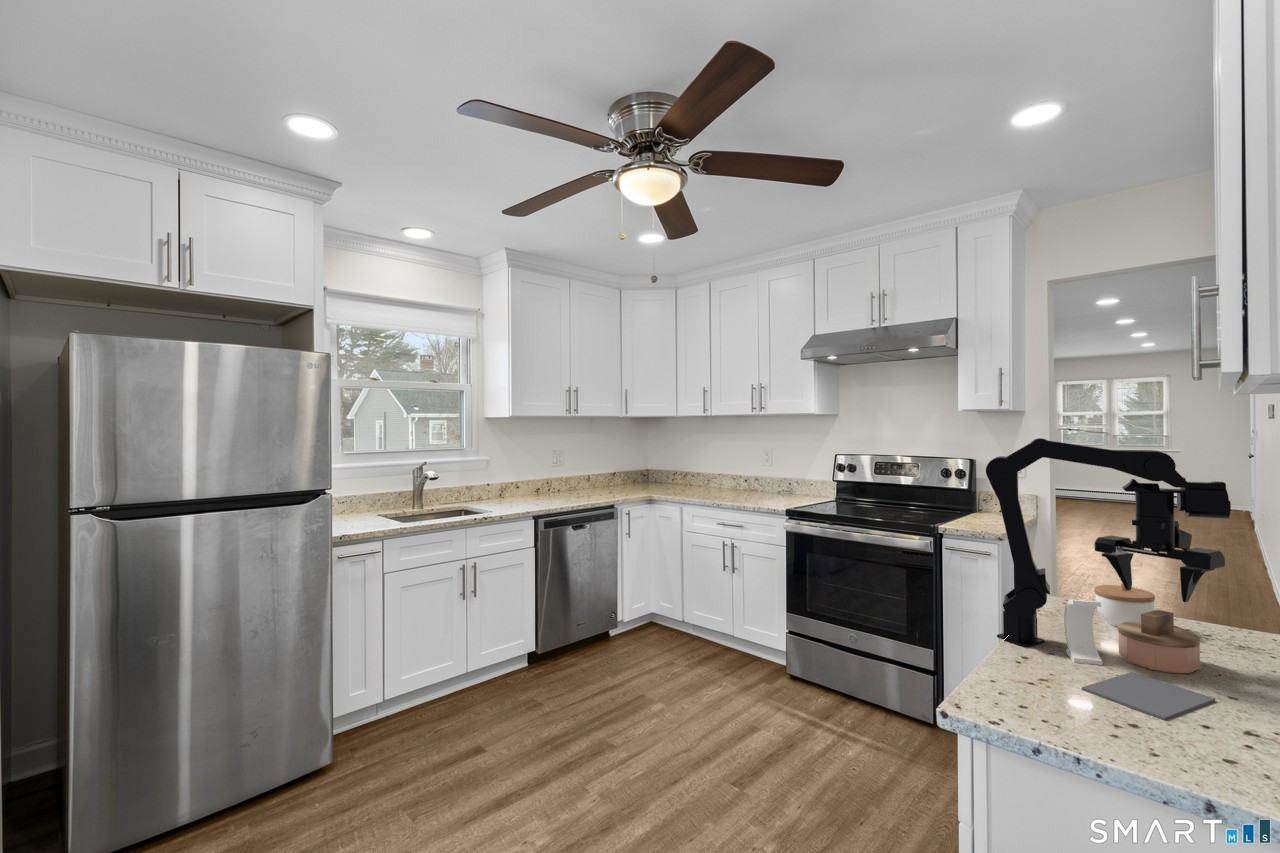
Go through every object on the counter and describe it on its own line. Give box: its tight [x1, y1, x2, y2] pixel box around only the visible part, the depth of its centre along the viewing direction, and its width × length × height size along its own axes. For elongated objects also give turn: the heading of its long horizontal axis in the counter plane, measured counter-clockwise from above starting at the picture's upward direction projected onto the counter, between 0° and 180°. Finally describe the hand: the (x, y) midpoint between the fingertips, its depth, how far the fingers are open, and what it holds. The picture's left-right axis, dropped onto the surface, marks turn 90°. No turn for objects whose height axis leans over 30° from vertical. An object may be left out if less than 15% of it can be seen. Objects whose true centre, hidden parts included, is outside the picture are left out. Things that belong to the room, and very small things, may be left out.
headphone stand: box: [1063, 598, 1103, 666], centre depth 118 cm, size 5×6×12 cm
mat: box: [1081, 671, 1216, 721], centre depth 102 cm, size 15×12×1 cm
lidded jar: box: [1094, 583, 1156, 628], centre depth 136 cm, size 11×11×9 cm
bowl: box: [1117, 631, 1201, 674], centre depth 115 cm, size 11×11×5 cm
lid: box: [1117, 609, 1201, 648], centre depth 115 cm, size 12×12×4 cm
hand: (1156, 595), depth 115 cm, fingers open, 9 cm apart
